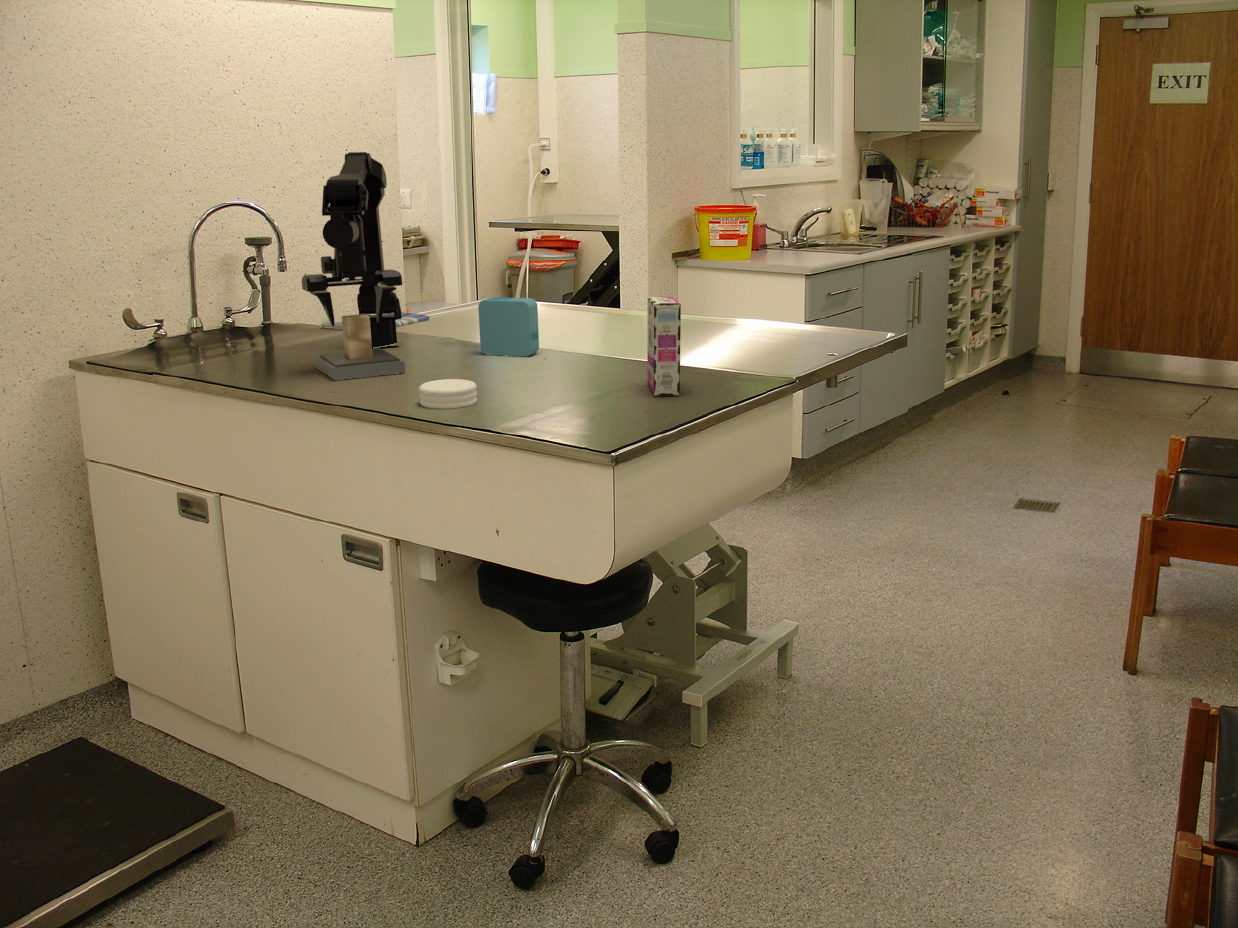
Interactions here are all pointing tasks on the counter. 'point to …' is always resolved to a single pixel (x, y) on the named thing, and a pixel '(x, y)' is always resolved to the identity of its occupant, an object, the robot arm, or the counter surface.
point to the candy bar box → (664, 346)
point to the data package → (508, 326)
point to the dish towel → (406, 317)
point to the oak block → (357, 336)
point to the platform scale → (359, 365)
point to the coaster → (448, 394)
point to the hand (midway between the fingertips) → (355, 324)
